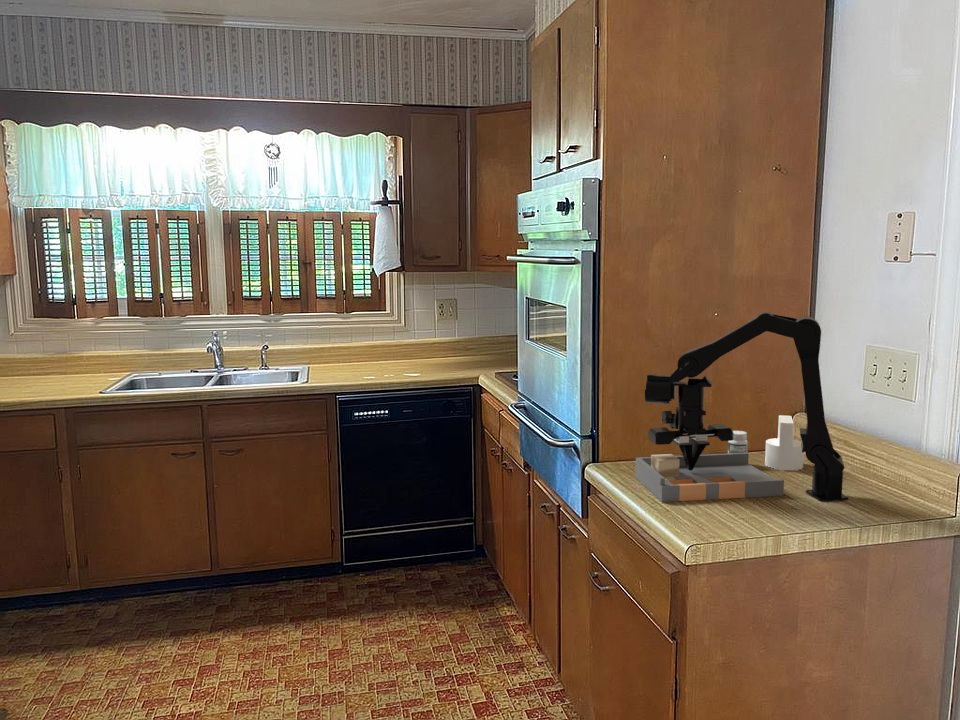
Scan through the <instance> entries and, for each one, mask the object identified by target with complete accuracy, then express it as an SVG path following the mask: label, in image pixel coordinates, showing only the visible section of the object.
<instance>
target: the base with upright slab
mask: <svg viewBox="0 0 960 720" xmlns="http://www.w3.org/2000/svg"><path fill="white" fill-rule="evenodd" d="M792 417H793V416H792V415H785V414H784V415H780V414H779V415H778V425H777V438H776V437H774V438H768V439H766V440H765V454H764V455H765V460H764V465H765V467H767V466H768V467H767V468H769V467H771V468H770V469H772V468H774V469H773V470H777V469H779V470H778V471H784V470H796V471H800V470H799V469H801V470H803V469H804V457H805V452H804V453H802V448H801V443H802V440H801V441H800V440H798V439H794V425H795V424H794V421H793V418H792ZM802 468H803V469H802Z"/></svg>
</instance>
